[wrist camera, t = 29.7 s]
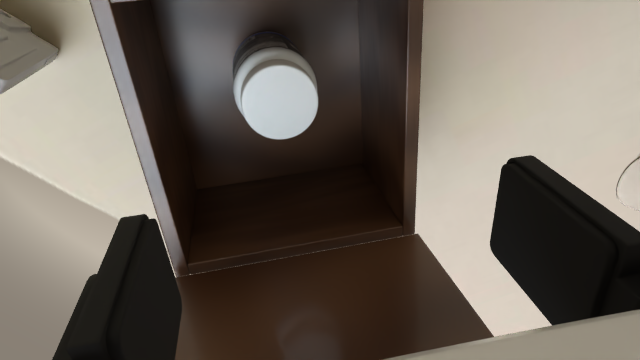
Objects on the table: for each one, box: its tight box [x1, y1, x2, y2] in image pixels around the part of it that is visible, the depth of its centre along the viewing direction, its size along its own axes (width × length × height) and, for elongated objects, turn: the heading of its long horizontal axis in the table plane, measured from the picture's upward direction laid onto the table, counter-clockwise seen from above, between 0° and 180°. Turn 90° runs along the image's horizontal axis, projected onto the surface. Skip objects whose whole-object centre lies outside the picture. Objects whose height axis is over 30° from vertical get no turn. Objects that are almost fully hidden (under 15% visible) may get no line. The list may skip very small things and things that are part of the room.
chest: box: [89, 0, 423, 277], centre depth 26 cm, size 16×15×10 cm
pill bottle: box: [233, 31, 318, 139], centre depth 25 cm, size 5×5×8 cm
